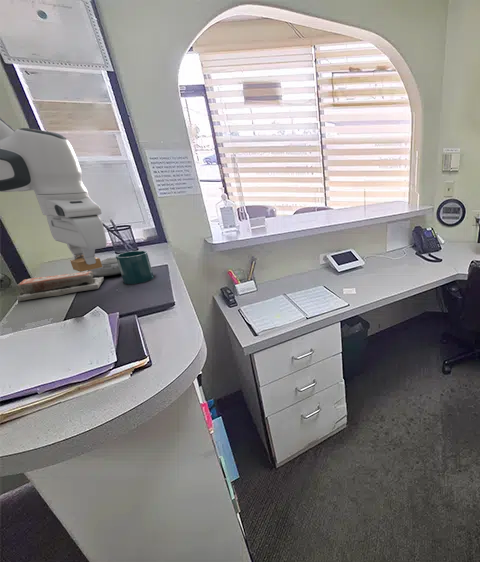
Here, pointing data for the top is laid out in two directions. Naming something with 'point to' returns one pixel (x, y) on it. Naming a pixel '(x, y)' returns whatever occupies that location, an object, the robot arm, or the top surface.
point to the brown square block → (82, 266)
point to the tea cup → (135, 267)
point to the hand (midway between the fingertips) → (86, 262)
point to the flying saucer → (107, 268)
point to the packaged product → (57, 285)
